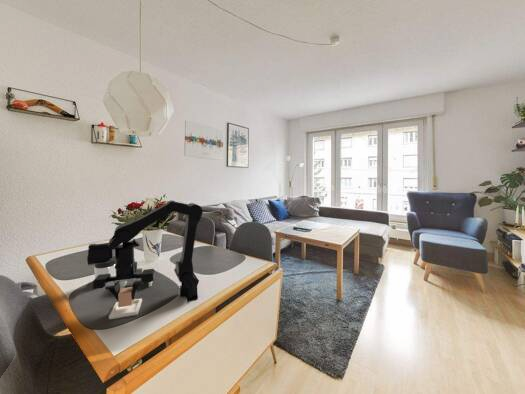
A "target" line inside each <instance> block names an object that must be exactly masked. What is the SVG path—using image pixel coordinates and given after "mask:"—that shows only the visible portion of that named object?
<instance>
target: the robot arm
mask: <svg viewBox="0 0 525 394" xmlns="http://www.w3.org/2000/svg"><path fill="white" fill-rule="evenodd" d="M173 212H175V213H177V214H182V215H184V219H185V220H184V221H185V230H184V235H183V241H182V242H183V243H182V251H181V257H180V259H179V261H177V260H176V261H175V268H174V269H173V270H174V274H175V275H176V277H177V279H178V281H179V283H180V284H181V285H180V286H179V297H180V298H186V301H194V300H198V298H199V296H198V285H199V282H200V280H199V278H198V277H197V275H196V274H195V272H194V267H193V266H194V265H193V255H194V249H195V241H196V240H195V239H196V233H197V227H198V225H199V223H200V221H201V219H202V215H203V207H201V206H200V205H199V204H197V203H194V202H191V203H184V202H180V201H179V202H178V201H175V200H168V201H167V202H166V203H164V204H162V205H160V206H159V207H157V208H155V209H152V211H149V212H148V213H146V214H144V215H142V216H141V217H139V218H136V219H133V220H128V221H126V222H123V223H121V224H119V225H117V226H116V227H115V230H114V232H113V236H112V237H111V238H109V241H108V242H104V243H91V244H89V245H88V246H87V247H88V250H87V256H86V257H87V259H86V261H87V265H88V266H95V264H100V263H107V262H109V261H110V259H113V256H114V257H115V263H116V265H115V269H116V276H113V277H111V275H110V274H101V275H98V276H97V277H96V278H95V277H94V279H93V280H92V282H91V288H92V290H97V289H103V288H104V289H105V290H106V291H109V292H110V293H111V294H112V295H113V296H114V297H115V299H116V302H118V293H119V292H120V281H127V282H128V281H133V284H132V286H131V287H132V300H134V299H136V298H135V297H136V294H137V291H138V288H139V287H140V286H142V285H143V283H145V284H146V283H149V282H152V281H153V282H154V280H155V278H156V270H155V268H153V269H146V270H143V272H142V273H138V274H135V272H136V271H137V269H138V261H136V260H135V248H137V247H140V242H139V241H137V240H136V238H135V237H137V236H138V235H139V234H141V232H142V231H143V230H144V229H145V228H147V227H150V226H151V225H153V224H154V223H156V222H158V221H160V220H161V219H163V218H165V217H166V216H168V215H170V214H171V213H173ZM153 282H152V283H153Z"/></svg>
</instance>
